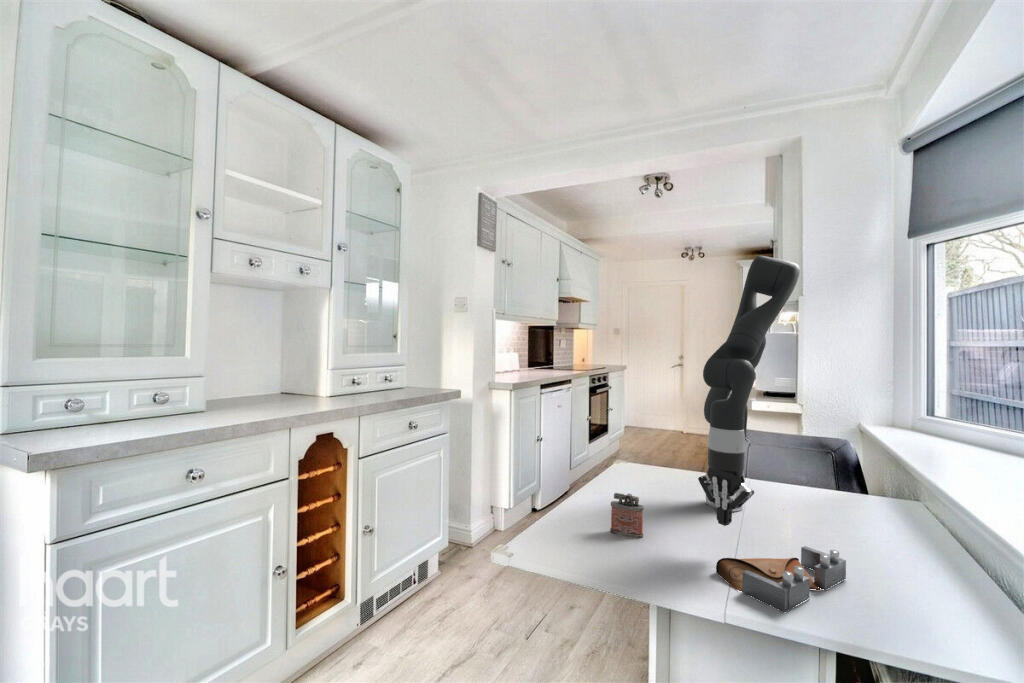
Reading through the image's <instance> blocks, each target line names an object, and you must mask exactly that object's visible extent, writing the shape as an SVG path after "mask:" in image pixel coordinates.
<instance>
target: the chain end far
mask: <svg viewBox="0 0 1024 683" xmlns="http://www.w3.org/2000/svg"><path fill="white" fill-rule="evenodd" d="M800 564H801V565H802V566H804V567H803V568H805V567H808V568H811V569H813V570H814V571H813V570H812V571H813V572H814V574H813V582H814V583H815V584H816V586H817V587H819V588H821V589H824V590H826V589H828V588H830V587H831V586H833V585H835V584H837V583H838V582H840V581H842V580H844V579H846V580H847V559H844V558H841V557H840V551H838V550H835V549H830V550H829V553H826V552H823V551H821V550H817V549H815V548H812V547H809V546H806V545H804V546H802V547H801V549H800ZM808 568H807V569H808ZM837 585H838V584H837ZM835 586H836V585H835ZM830 589H831V588H830ZM828 590H829V589H828ZM826 591H827V590H826Z"/></svg>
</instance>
